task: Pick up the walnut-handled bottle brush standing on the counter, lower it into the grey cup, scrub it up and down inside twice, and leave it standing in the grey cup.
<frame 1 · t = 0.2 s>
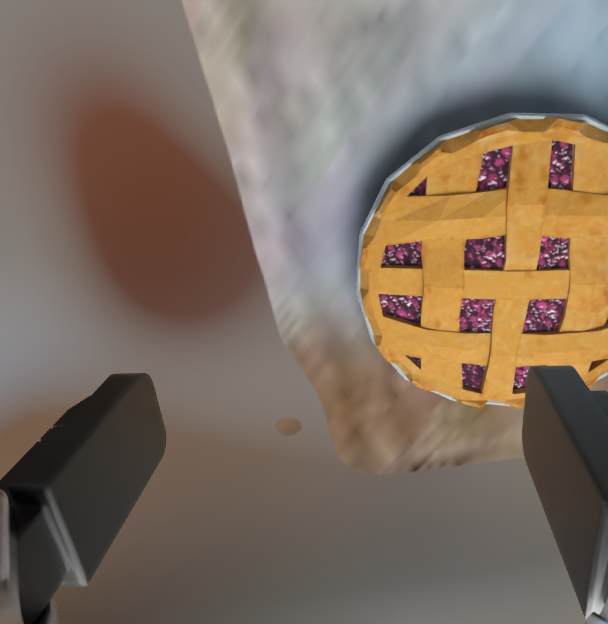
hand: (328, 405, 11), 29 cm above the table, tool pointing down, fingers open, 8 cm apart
pie: (500, 262, 38), on the table
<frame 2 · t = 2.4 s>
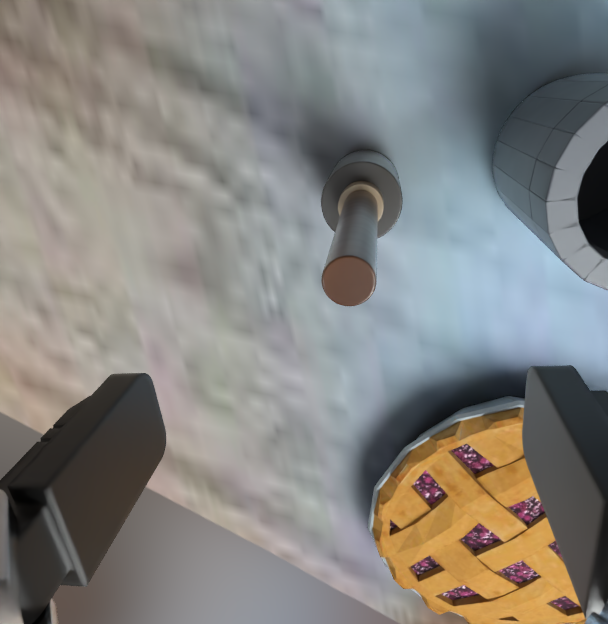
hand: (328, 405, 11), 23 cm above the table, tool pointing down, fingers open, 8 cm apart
grey cup: (568, 155, 29), on the table
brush: (364, 186, 32), on the table
pie: (508, 494, 40), on the table
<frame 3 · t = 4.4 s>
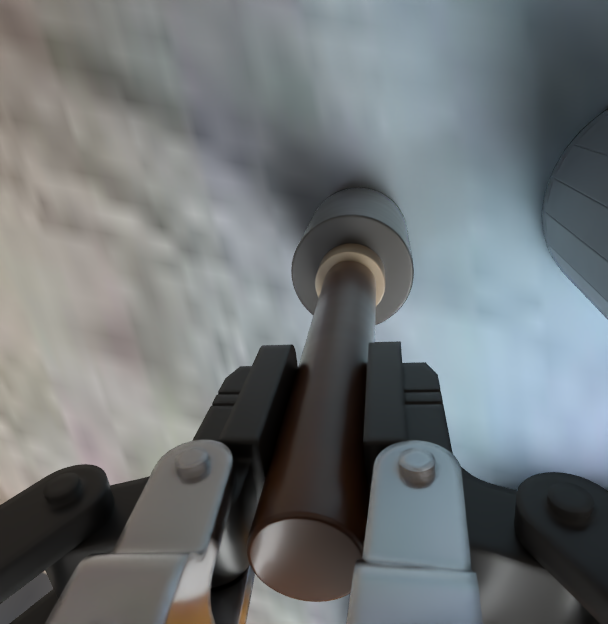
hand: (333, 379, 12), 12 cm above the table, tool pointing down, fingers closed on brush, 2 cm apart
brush: (357, 236, 23), on the table, touching gripper
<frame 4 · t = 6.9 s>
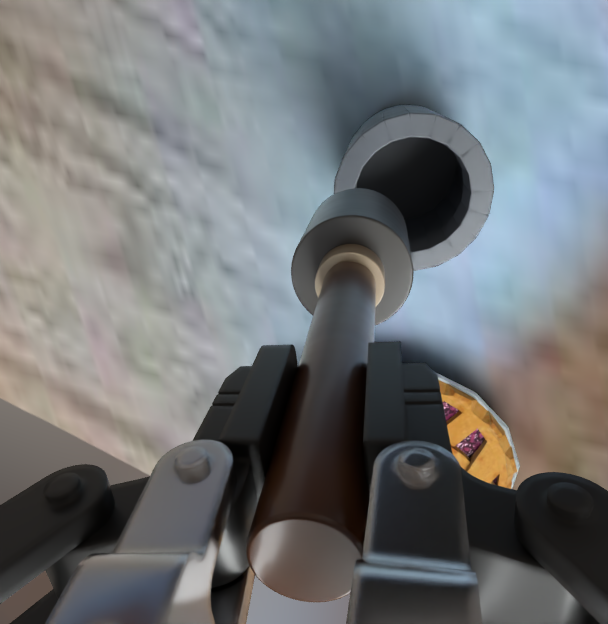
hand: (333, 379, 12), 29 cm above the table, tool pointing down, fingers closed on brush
grey cup: (402, 166, 38), on the table
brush: (357, 237, 23), point 17 cm above the table, touching gripper
pie: (388, 446, 48), on the table
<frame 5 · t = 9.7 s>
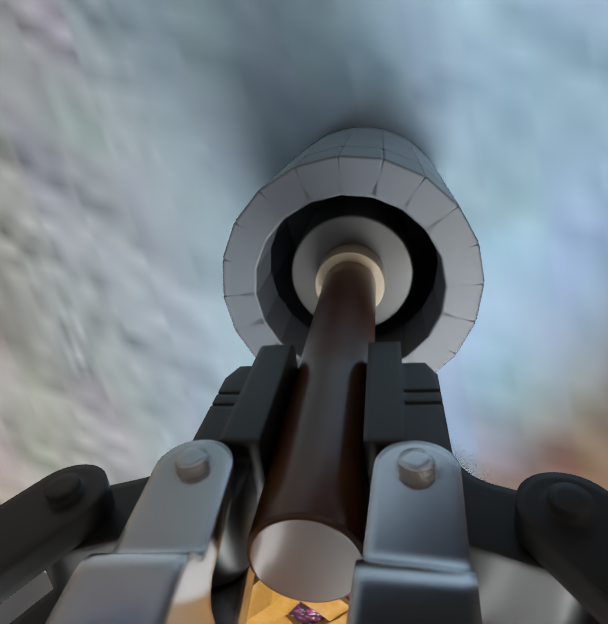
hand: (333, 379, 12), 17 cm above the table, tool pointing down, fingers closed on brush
grey cup: (360, 213, 27), on the table
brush: (357, 237, 23), point 4 cm above the table, touching gripper
pie: (353, 560, 38), on the table
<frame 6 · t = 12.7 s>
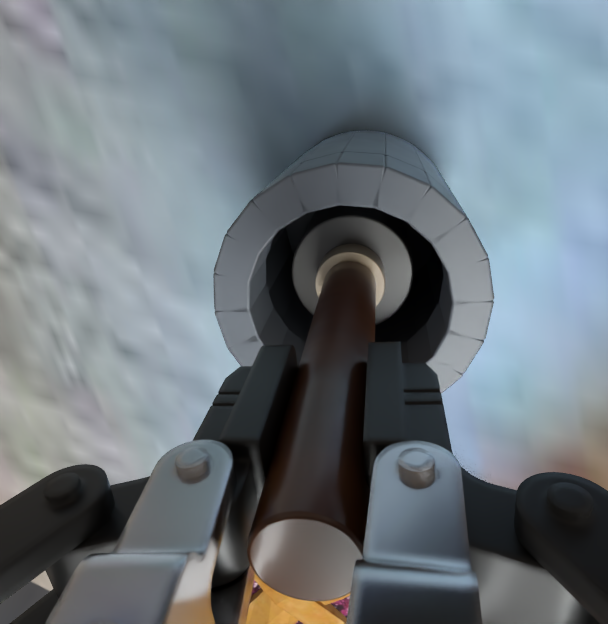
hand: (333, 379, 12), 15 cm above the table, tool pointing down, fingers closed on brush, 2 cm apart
grey cup: (361, 219, 25), on the table
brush: (357, 237, 23), point 3 cm above the table, touching gripper
pie: (354, 576, 36), on the table
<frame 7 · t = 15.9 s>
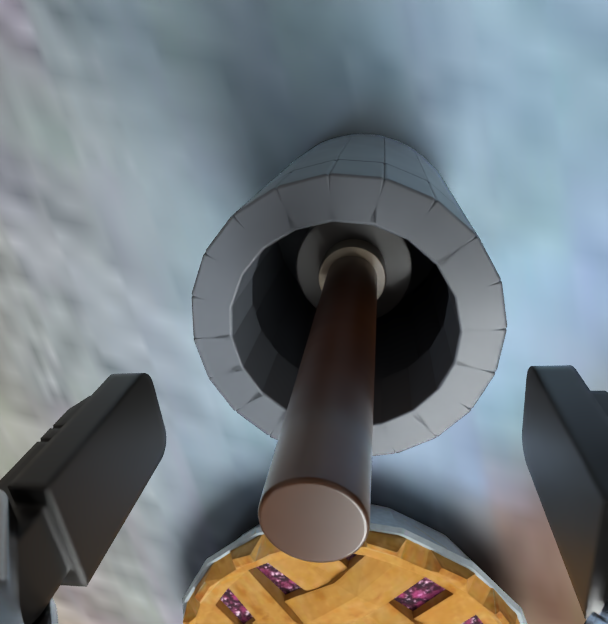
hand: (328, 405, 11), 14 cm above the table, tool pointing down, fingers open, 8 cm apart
grey cup: (359, 229, 24), on the table
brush: (359, 233, 23), point 1 cm above the table, touching grey cup
pie: (352, 600, 35), on the table
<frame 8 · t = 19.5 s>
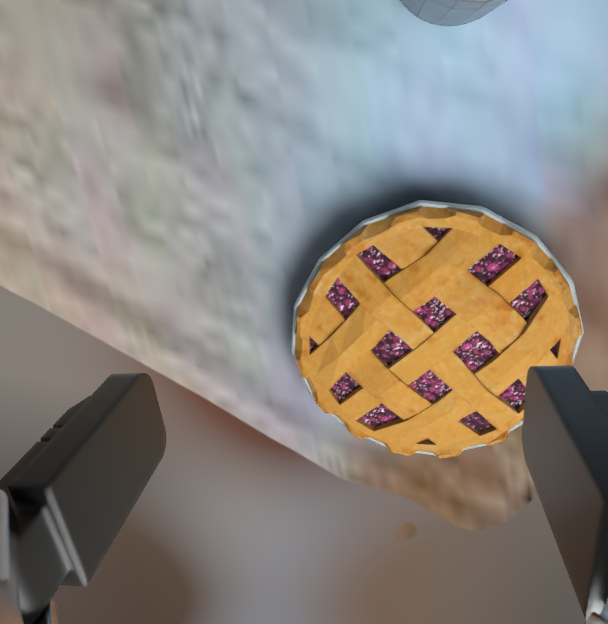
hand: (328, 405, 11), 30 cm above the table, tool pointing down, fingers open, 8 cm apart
pie: (426, 323, 42), on the table
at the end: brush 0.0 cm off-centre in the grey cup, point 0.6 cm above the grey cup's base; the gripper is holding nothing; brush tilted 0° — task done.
